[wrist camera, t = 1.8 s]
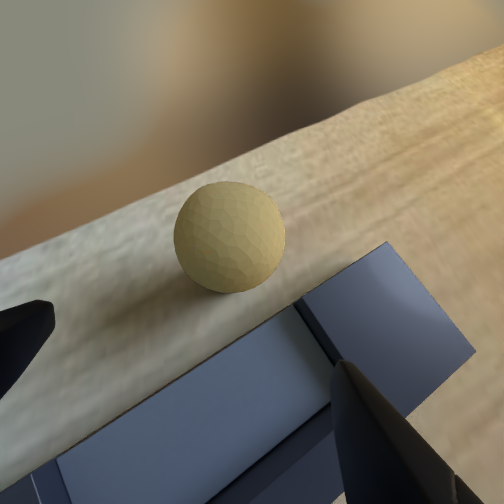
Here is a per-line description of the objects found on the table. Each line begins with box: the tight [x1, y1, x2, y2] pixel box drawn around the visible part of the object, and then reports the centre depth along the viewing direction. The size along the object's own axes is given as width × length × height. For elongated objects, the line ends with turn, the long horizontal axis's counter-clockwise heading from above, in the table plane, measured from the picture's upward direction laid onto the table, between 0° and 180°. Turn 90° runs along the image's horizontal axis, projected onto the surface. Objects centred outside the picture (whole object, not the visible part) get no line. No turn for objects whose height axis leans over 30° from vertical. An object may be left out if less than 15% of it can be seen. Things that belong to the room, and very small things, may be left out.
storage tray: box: [0, 242, 476, 504], centre depth 16 cm, size 30×9×6 cm, turn 122°
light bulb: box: [174, 182, 285, 293], centre depth 18 cm, size 6×6×10 cm
